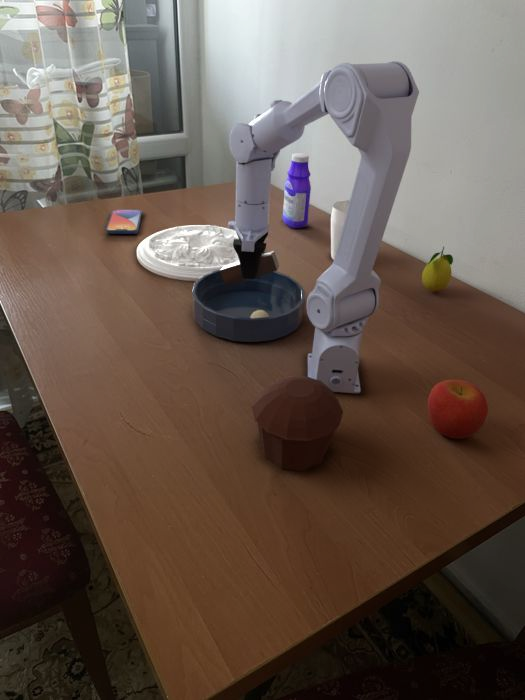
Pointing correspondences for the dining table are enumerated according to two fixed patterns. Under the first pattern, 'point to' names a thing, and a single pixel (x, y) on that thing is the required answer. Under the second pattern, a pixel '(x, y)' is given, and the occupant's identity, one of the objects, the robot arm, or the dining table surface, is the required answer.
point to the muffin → (296, 421)
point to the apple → (457, 408)
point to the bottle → (297, 192)
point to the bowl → (248, 306)
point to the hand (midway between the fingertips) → (249, 273)
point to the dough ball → (259, 314)
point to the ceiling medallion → (188, 251)
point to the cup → (337, 223)
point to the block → (265, 266)
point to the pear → (437, 272)
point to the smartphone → (124, 222)
